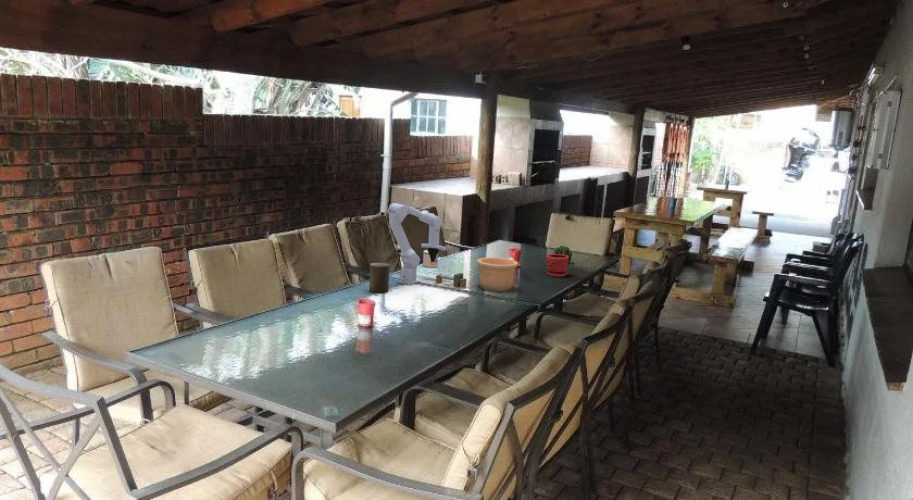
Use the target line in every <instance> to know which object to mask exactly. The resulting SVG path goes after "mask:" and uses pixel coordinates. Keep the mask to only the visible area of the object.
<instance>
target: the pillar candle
mask: <svg viewBox="0 0 913 500" xmlns="http://www.w3.org/2000/svg"><path fill="white" fill-rule="evenodd" d="M369 271H370V272H369V292H371V293H375V294H385V293H388V292H389V290H390V289H389V288H390V264H389V263H385V262H374V263H373V262H372V263H370V267H369Z"/></svg>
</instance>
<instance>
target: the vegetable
mask: <svg viewBox="0 0 913 500" xmlns="http://www.w3.org/2000/svg"><path fill="white" fill-rule="evenodd" d="M552 254H559V255H566V256H568V257H569V260H568V263H569V262H571V260H572V257H573V251H572V250H570V248H569V247H568V246H564V245H560V246H559V247H556V248H554V250H553V253H552ZM564 265H565V264H564Z"/></svg>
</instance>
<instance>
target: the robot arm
mask: <svg viewBox="0 0 913 500" xmlns="http://www.w3.org/2000/svg"><path fill="white" fill-rule="evenodd" d="M387 213H388V223H389V227H390V228H391V231H392V233H393V235H394V236H393V237H394V238H395V240H396V242H397V244H398V247H399V249H400V251H401V252H400V253H399V255H400V260H401V263H402V266H403V267H402V268H401V269H400V271H399V280H398V282H397V283H399V284H403V285H404V284H405V285H410V286H411V285H413V284H417V283H420V280H418V279H417V271H418V266H419V264H420V263H421V258H420V256H419V255H418V254H417V252H416V251H415V250H414V249H413V248H412V247H411V245H410V242H409V240H408V237H407V235H406V232H405V231H404V228H403V226H402V222H403V221H404V220H405V218H406V217H407V215H413V216H414V217H417V218H418V220H419V221H420V222H423V223H426V224H427V225H428V226H429V228H428V243H421V246H420V247H421V248H426V250H427V251H428V253H429V255H430V259H431V262H435V259H436V256H437V254H438V255H439V252H440V251H446V250H447V246H443V245H440V231H441V226H442V224H443V220H442V218H441V217H440V216H439V215H435V213H430V212H429V210H426V209H425V210H421V211H420V210H418V209H416V208H415V207H413V206H410V205H407V204H406V205H405V204H400V203H396V202H392V203H390V204H389V206H388V209H387Z"/></svg>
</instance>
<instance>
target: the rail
mask: <svg viewBox="0 0 913 500" xmlns="http://www.w3.org/2000/svg"><path fill="white" fill-rule="evenodd" d="M443 279H444V280H449V281H454V276H448V275H447V276H446V275H443V274H441V273H440V274H439V273H438V274H437V275H435V282H434V283H433V284H434V285H437V284H438V285H439V286H442V285H443V286H444V287H448V288H449V287H450V288H454V289H459V288H460V289H461V290H464V289H466V288H468V285H467V278H465V277H463V279H460V278H459V282H460V286H458V287H455V286H453V283H452V282H447V281H443ZM438 285H437V286H438Z"/></svg>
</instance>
